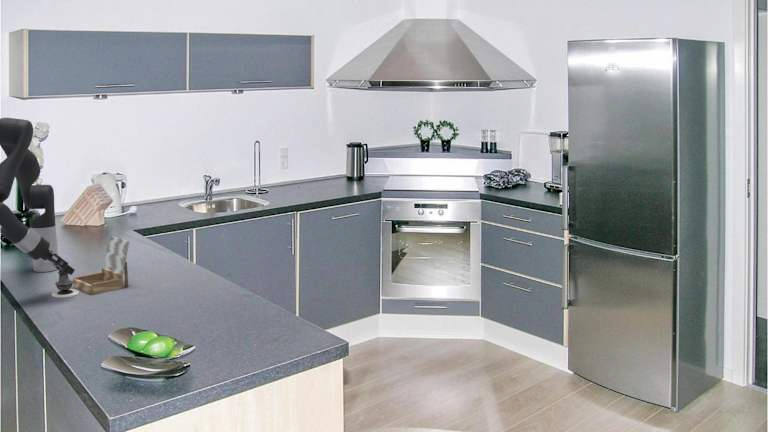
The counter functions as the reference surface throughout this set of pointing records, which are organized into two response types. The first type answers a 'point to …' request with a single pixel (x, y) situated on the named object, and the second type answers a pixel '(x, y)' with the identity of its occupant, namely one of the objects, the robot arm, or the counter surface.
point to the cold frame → (107, 270)
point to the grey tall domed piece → (63, 282)
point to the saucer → (75, 292)
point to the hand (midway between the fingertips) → (67, 270)
